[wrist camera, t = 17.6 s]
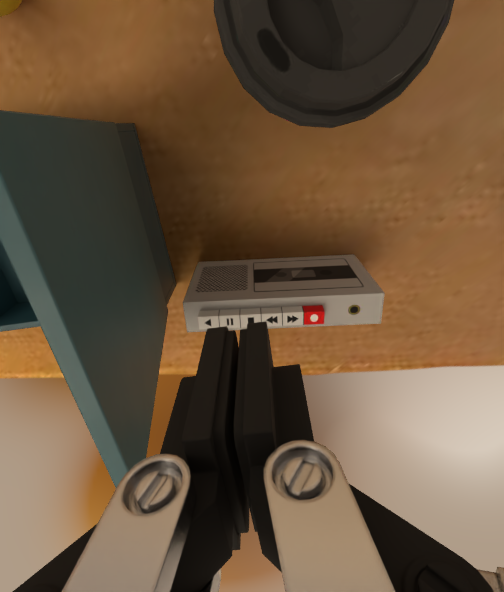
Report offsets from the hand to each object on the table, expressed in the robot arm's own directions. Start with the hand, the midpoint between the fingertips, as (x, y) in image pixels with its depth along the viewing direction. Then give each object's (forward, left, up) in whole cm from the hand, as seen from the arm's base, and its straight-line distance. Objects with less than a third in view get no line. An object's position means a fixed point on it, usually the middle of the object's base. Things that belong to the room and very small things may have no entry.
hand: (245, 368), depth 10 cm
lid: (-8, 0, -11) cm, 13 cm away
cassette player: (+2, -8, -26) cm, 27 cm away
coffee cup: (+6, +11, -26) cm, 29 cm away
